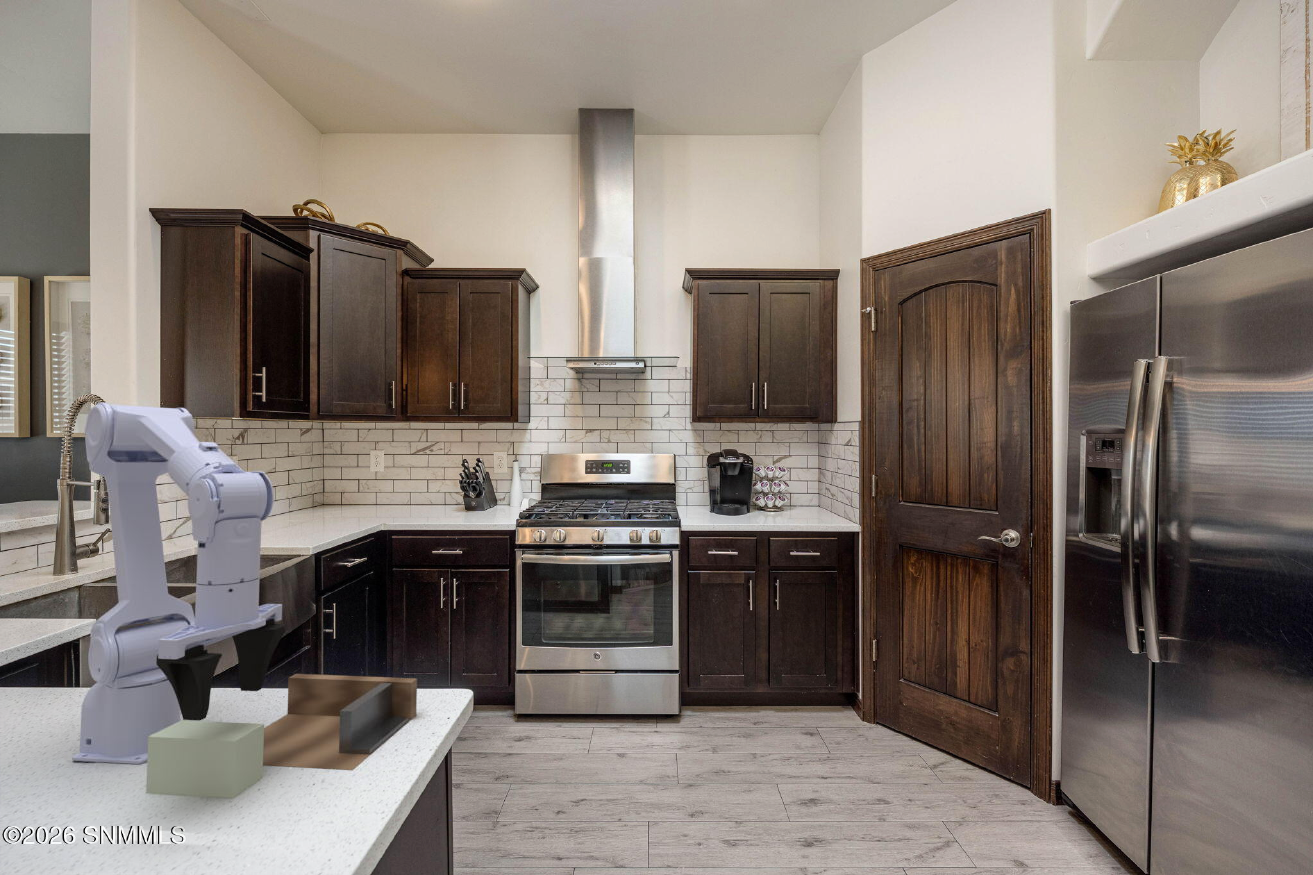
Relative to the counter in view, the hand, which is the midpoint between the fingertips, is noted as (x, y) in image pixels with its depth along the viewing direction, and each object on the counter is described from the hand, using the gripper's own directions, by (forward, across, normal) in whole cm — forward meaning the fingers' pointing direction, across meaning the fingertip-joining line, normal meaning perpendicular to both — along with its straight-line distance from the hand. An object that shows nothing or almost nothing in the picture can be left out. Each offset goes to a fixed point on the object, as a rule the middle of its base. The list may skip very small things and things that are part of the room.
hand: (224, 703), depth 65 cm
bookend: (+8, +11, -11) cm, 18 cm away
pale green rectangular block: (+10, -1, +1) cm, 10 cm away
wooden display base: (+9, +10, -4) cm, 14 cm away
